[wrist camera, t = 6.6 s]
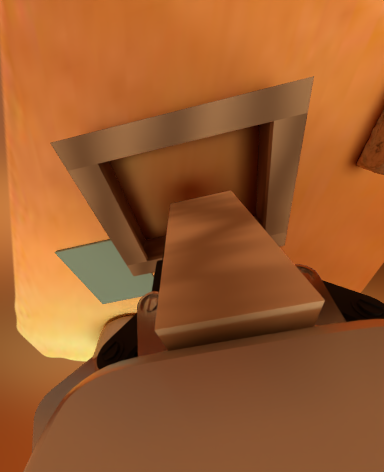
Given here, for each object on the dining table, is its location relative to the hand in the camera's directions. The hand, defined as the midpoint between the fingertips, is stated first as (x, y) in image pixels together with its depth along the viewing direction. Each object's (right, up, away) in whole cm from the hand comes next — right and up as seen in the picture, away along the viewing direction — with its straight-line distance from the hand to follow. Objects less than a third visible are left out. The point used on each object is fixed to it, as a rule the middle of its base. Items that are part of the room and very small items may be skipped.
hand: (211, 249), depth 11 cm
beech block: (0, +1, +2) cm, 2 cm away
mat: (-15, -6, +17) cm, 23 cm away
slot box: (-1, +7, +9) cm, 12 cm away
